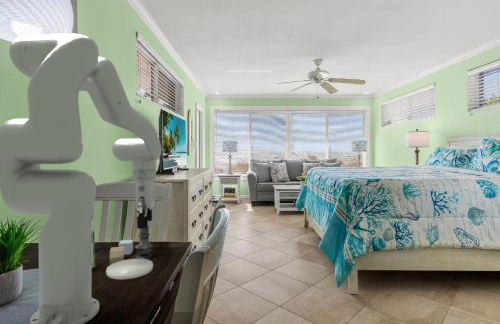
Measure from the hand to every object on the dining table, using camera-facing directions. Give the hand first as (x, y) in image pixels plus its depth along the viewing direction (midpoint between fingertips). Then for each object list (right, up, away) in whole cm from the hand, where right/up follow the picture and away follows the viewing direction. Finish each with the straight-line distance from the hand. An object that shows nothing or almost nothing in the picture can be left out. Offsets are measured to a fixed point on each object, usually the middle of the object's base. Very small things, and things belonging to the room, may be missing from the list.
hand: (145, 224), depth 100 cm
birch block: (-7, -11, -5) cm, 14 cm away
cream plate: (0, -11, -13) cm, 17 cm away
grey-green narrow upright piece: (-15, -11, -12) cm, 23 cm away
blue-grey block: (-8, -11, +3) cm, 14 cm away
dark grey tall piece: (0, -11, 0) cm, 11 cm away
